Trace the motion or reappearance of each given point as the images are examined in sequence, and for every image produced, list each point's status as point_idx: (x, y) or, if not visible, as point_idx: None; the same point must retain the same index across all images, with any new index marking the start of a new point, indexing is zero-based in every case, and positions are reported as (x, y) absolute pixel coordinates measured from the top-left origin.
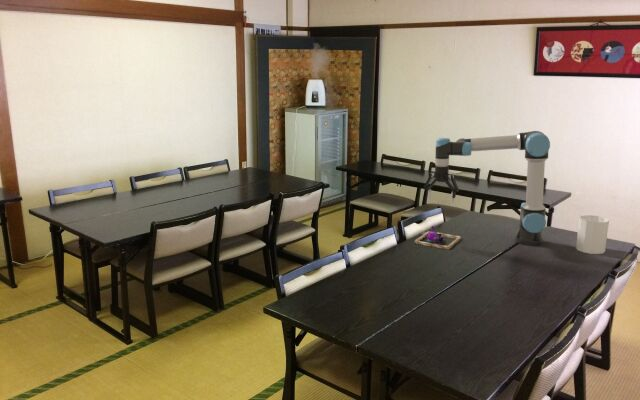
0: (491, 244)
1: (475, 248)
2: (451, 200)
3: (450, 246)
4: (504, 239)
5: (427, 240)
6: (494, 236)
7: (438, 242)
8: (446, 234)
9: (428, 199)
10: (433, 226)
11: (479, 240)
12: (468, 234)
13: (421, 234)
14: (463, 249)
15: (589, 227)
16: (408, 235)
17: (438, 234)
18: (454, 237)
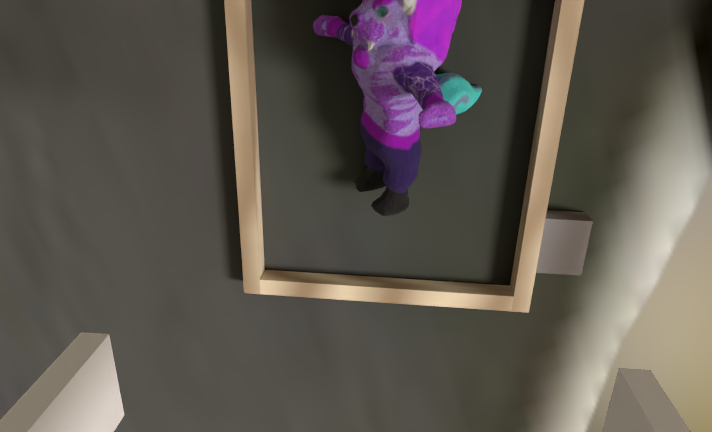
0: (22, 258)
1: (64, 109)
2: (49, 387)
3: (228, 11)
4: (12, 389)
5: (475, 88)
6: None
7: (346, 26)
8: (363, 292)
9: (652, 398)
10: (424, 109)
11: (127, 306)
12: (245, 396)
13: (568, 217)
14: (126, 31)
15: None
16: (685, 179)
17: (378, 136)
18: (295, 276)
